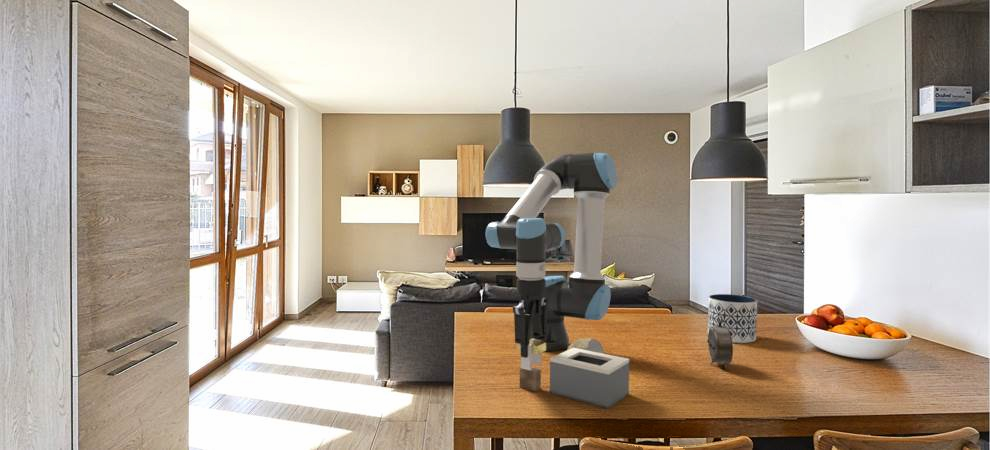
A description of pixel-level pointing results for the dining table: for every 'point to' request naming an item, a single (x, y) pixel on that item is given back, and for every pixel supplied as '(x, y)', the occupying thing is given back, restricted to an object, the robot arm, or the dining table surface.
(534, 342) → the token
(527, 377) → the stand
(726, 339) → the alarm clock
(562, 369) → the box
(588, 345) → the coral
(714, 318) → the planter
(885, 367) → the dining table surface
